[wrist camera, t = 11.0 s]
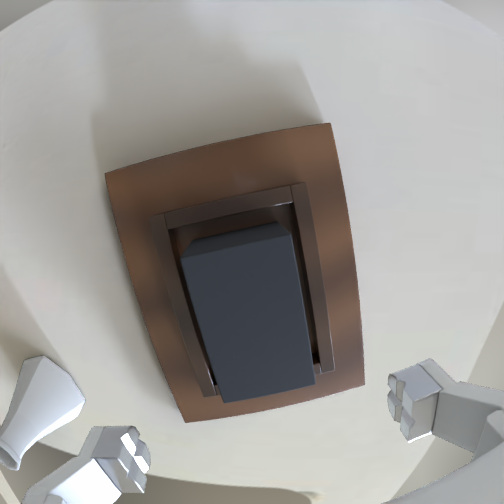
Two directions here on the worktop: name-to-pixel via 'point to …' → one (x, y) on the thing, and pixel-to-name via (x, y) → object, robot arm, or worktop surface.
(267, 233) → the dark gray block
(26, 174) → the worktop surface
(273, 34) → the worktop surface
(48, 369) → the flask
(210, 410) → the back plate
